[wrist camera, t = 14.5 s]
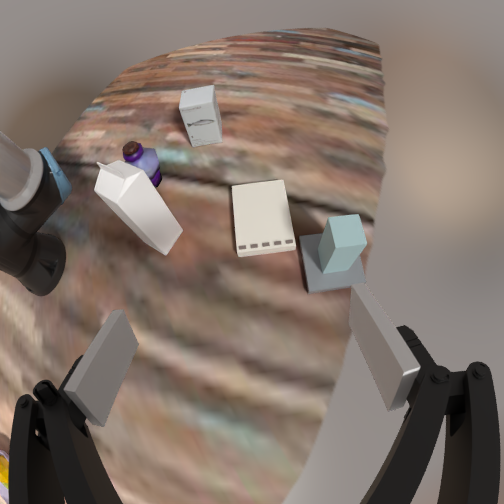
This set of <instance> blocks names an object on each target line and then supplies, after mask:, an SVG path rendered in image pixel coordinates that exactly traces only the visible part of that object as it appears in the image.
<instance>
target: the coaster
mask: <svg viewBox="0 0 504 504" xmlns="http://www.w3.org/2000/svg"><path fill="white" fill-rule="evenodd" d="M322 235H323V233H320V234H312V235H304V236H299V243H300V248H301V254H302V260H303V265H304V271H305V277H306V283H307V289H308V294H311V293H318V292H325V291H331V290H338V289H344V288H350V287H351V285H352V284H358V283H366V280H365V275H364V271H363V267H362V262H361V258H360V255H359V256H358V257H357V259H356V260H355V261H354V263H353V264H352V265H351V267H350V268H349V269H348V270H345V271H339V272H332V273H325V274H323V273H322V268H321V263H320V258H319V253H318V247H319V244H320V241H321V238H322Z"/></svg>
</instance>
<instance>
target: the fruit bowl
mask: <svg viewBox="0 0 504 504" xmlns="http://www.w3.org/2000/svg"><path fill="white" fill-rule="evenodd" d="M8 470H9V455H8V454H7V453H6V452H5V451H3V450H0V495H1V496H2V498H3V499H4V500H5V501H6V503H7V504H9V493H8Z"/></svg>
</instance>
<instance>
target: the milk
mask: <svg viewBox="0 0 504 504" xmlns="http://www.w3.org/2000/svg"><path fill="white" fill-rule="evenodd" d="M97 164H98V165H99V167H100V168H101V169H100V172H99V175H98V178H97V182H96V185H95V189H94V191H95V192H96V193H97V194H98V195H99V196H100V197H101V198H102V200H103V201H104V202H105V203H106V204H107V205H108V206H109V207H110V208H111V209H112V210H113V211H114V212H115V213H116V214H117V215H118V216H119V217H120V218H121V219H122V220H123V221H124V222H125V223H126V224H127V225H128V226H129V227H130V228H131V229H132V230H133V231H134V232H135V233H136V234H137V235H138V236H139V237H140V238H141V239H142V240H143V241H144V242H145V243H146V244H148V245H149V246H151V247H153V248H154V249H156V250H157V251H159V252H161V253H162V254H164V255H167V254H168V252H169V251H170V249H171V248H172V246H173V245H174V243H175V242H176V240H177V239H178V237H179V236H180V235H181V233H182V232H183V229H182V228H181V226H180V225H179V223H178V222H177V220H176V219H175V217H174V216H173V215H172V213H171V212H170V210H169V209H168V207H167V206H166V204H165V202H164V201H163V199H162V198H161V196H160V195H159V193H158V192H157V190H156V189H155V187H154V186H153V184H152V183H151V181H150V179H149V178H148V176H147V175H146V173H145V172H144V170H142V169H140V168H137V167H135V166H132V165H130V164H127V163H125V162H123V161H120V160H118V161H115V162H113V163H111V164H108V165H103V164H101V163H99V162H97Z"/></svg>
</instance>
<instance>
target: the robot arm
mask: <svg viewBox="0 0 504 504" xmlns="http://www.w3.org/2000/svg"><path fill="white" fill-rule="evenodd" d="M71 191H72V185H71V183H70V182H69V180H68V178H67V177H66V175H65V174H64V172H63V171H62V169H61V168H60V166H59V165H58V163H57V162H56V160H55V158H54V157H53V155H52V154H51V152H50V151H49V149H48V148H47V147H44V148H43V149H40V150H39V151H38V152H37V151H36V150H34V149H31V148H27V149H23V150H22V149H20V148H19V147H18V146H17V145H16V144H15V143H13V142H12V141H11V140H10V139H9V138H8V137H7V136H6V135H4V134H3V133H2V132H1V131H0V270H1V271H3V272H5V273H7V274H9V275H11V276H13V277H15V278H17V279H18V280H19V281H20V282H21V283H22V284H23V285H24V286H25V287H26V288H27V290H28V291H30V292H31V293H33V294H35V295H38V296H45V295H47V294H49V293H50V292H51V291H52V290H53V289H54V288H55V287H56V285H57V284H58V282H59V280H60V278H61V276H62V273H63V270H64V266H65V259H66V254H65V248H64V245H63V243H62V242H61V241H60V240H59V239H58V238H56V237H55V236H53V235H50V234H43V233H39V232H37V231H38V230H39V229H40V227H41V226H42V225H43V224H44V223H45V222H46V220H47V219H48V218H49V217H50V216H51V215H52V214H53V213H54V212H55V211H56V210H57V208H58V207H59V206H60V205H62V204H63V203H64V201H65V199H66V198H67V197H68V196H69V195H70V194H71ZM349 326H350V328H351V330H352V332H353V334H354V336H355V338H356V340H357V342H358V345H359V347H360V349H361V351H362V353H363V355H364V358H365V360H366V362H367V364H368V366H369V368H370V371H371V373H372V375H373V378H374V380H375V382H376V384H377V387H378V389H379V391H380V394H381V396H382V398H383V401H384V403H385V405H386V408H387V410H388V412H389V411H392V410H395V409H398V408H401V407H403V406H404V404H405V402H406V400H407V401H408V403H409V405H410V407H409V409H408V411H407V412H406V414H405V416H404V421H403V423H402V426H401V428H400V430H399V433H398V435H397V437H396V439H395V441H394V444H393V446H392V448H391V450H390V452H389V454H388V456H387V458H386V460H385V462H384V463H383V465H382V467H381V469H380V471H379V473H378V474H377V476H376V478H375V480H374V482H373V483H372V485H371V486H370V488H369V490H368V492H367V493H366V495H365V496H364V498H363V499H362V501H361V503H360V504H410V503H411V501H412V499H413V497H414V495H415V493H416V491H417V489H418V486H419V484H420V482H421V480H422V477H423V475H424V473H425V471H426V468H427V465H428V463H429V461H430V458H431V455H432V453H433V450H434V447H435V444H436V441H437V438H438V435H439V432H440V428H441V425H442V422H443V418H444V415H446V438H445V439H446V440H445V453H444V464H443V472H442V479H441V486H440V492H439V498H438V502H437V504H497V503H498V494H499V483H500V482H499V481H500V433H499V421H498V411H497V404H496V397H495V391H494V386H493V380H492V375H491V371H490V369H489V367H488V366H487V365H486V364H484V363H482V362H473V363H471V364H470V365H469V367H468V368H467V370H466V371H459V372H450V371H449V370H448V369H447V368H446V367H443V366H438V365H436V363H435V362H434V360H433V359H432V357H431V356H430V354H429V353H428V351H427V350H426V348H425V347H424V346H423V345H422V343H421V341H420V340H419V339H418V337H417V336H416V334H415V333H414V331H413V330H411V329H409V328H408V327H407V326H405V325H404V326H400V327H395V326H394V324H393V323H392V321H391V320H390V318H389V317H388V316H387V314H386V313H385V311H384V310H383V308H382V307H381V305H380V304H379V303H378V301H377V300H376V298H375V297H374V295H373V294H372V293H371V291H370V290H369V289H368V287H367V286H366V284H365V283H358V284H352V285H351V301H350V314H349ZM138 345H139V343H138V341H137V339H136V337H135V335H134V333H133V330H132V328H131V326H130V324H129V321H128V319H127V317H126V314H125V312H124V310H113V311H112V313H111V314H110V316H109V317H108V319H107V320H106V322H105V323H104V325H103V326H102V328H101V329H100V331H99V332H98V334H97V335H96V337H95V338H94V340H93V341H92V343H91V344H90V346H89V348H88V349H87V351H86V352H85V354H84V355H81V356H80V357H79V358H78V359H77V360H76V361H75V363H74V364H73V366H72V369H70V371H69V372H68V373H69V374H67V376H66V377H65V379H64V381H63V382H62V384H61V386H60V388H59V389H58V390H57V389H56V388H55V386H54V385H53V384H52V382H51V381H49V380H43V381H40V382H39V383H37V385H36V386H35V387H34V389H33V394H34V396H35V397H36V398H37V399H38V400H39V401H35V400H34V399H33V398H32V396H31V395H29V394H25V395H23V396H21V397H20V398H19V399H18V401H17V403H16V407H15V413H14V419H13V425H12V433H11V441H10V452H9V470H8V493H9V504H65V500H66V503H67V504H123V503H122V501H121V500H120V498H119V496H118V494H117V492H116V490H115V488H114V487H113V485H112V483H111V481H110V479H109V477H108V474H107V472H106V470H105V468H104V466H103V464H102V461H101V459H100V457H99V454H98V452H97V450H96V447H95V445H94V442H93V440H92V437H91V434H90V431H89V429H88V426H87V425H86V423H85V420H86V418H87V419H88V420H89V421H90V422H91V423H92V424H93V425H97V426H102V427H104V426H105V423H106V420H107V418H108V415H109V413H110V410H111V408H112V405H113V403H114V400H115V398H116V395H117V393H118V391H119V388H120V386H121V384H122V381H123V379H124V377H125V374H126V372H127V370H128V367H129V365H130V363H131V361H132V359H133V356H134V354H135V352H136V350H137V348H138ZM35 429H36V430H37V431H38V436H37V435H36V434H35ZM64 497H65V500H64Z"/></svg>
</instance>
